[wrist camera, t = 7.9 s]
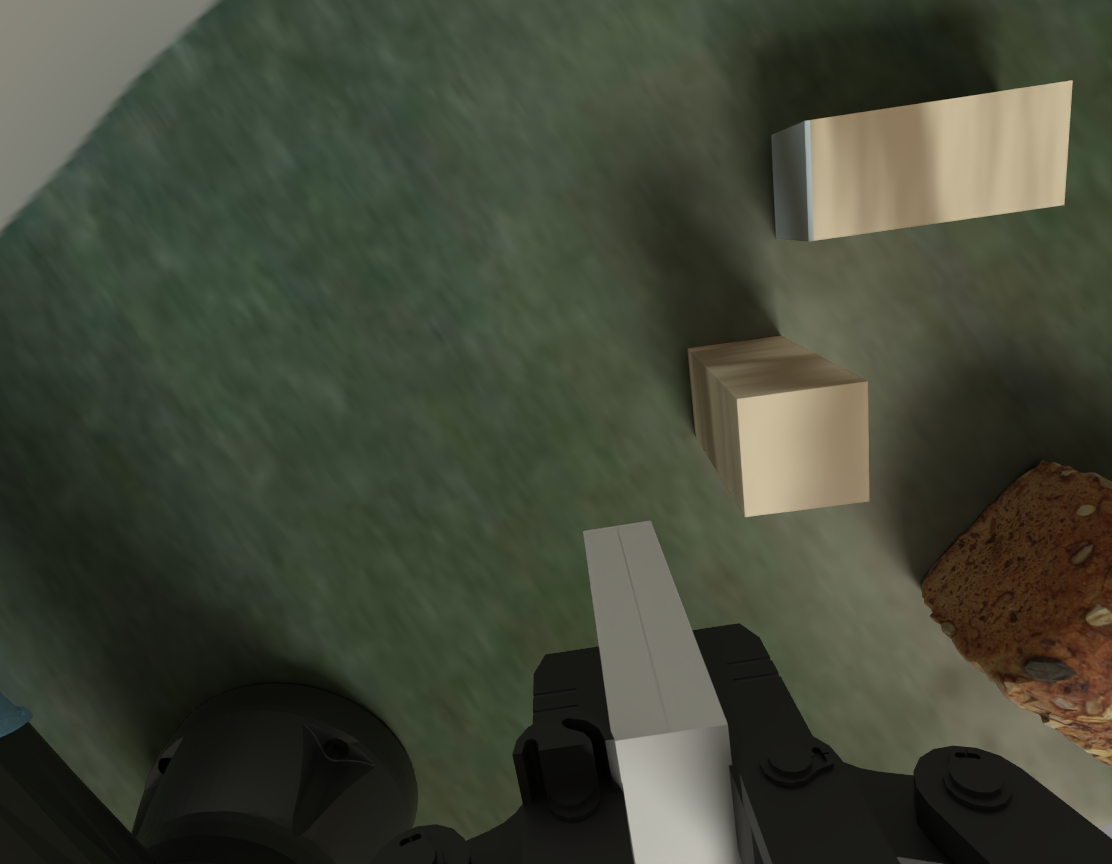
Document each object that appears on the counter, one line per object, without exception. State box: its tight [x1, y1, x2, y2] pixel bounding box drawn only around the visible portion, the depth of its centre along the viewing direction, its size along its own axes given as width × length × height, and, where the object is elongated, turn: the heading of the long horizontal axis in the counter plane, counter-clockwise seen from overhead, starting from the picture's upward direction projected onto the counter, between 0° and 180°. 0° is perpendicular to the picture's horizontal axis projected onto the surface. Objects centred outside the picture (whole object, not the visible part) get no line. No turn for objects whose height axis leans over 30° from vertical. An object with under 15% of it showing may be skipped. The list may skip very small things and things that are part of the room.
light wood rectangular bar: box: [771, 80, 1073, 241], centre depth 29 cm, size 4×4×10 cm
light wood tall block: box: [687, 335, 869, 517], centre depth 29 cm, size 4×4×10 cm
